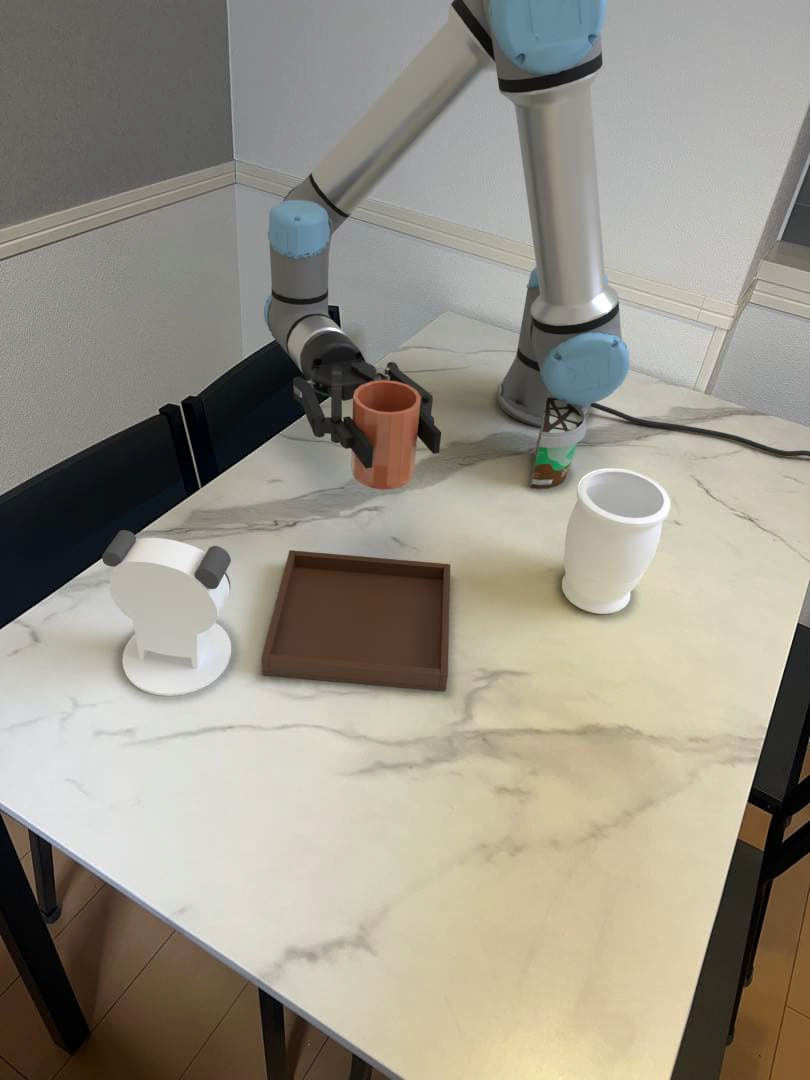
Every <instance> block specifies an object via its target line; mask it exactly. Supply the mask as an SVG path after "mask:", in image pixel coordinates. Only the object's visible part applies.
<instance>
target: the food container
mask: <svg viewBox="0 0 810 1080" xmlns="http://www.w3.org/2000/svg"><path fill="white" fill-rule="evenodd" d="M586 434H587V418H585V414H584V412H583V410H582V409H581V407H580V406H579V405H572V404H567V403H564V402H563V401H560V400H559V399H556V398H555V397H554V396H553V395H552V394H551V393H550V392H547V397H546V402H545V407H544V412H543V417H542V422H541V427H540V428H539V434H538V438H537V442H536V448H535V453H534V459H533V466H532V473H531V474H532V475H531V481H530V489H536V490H542V489H543V490H544V489H546V490H547V489H551V488H555V487H558V486H560V485H561V484H563V483H564V482H565V481H566V479H567V476H568V474H569V470H570V468H571V464H572V461H573V459H574V455H575V452H576V449H577V446H578V443H579V442H580V441H582V440H583V438H584V437H585V436H586Z"/></svg>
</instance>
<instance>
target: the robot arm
mask: <svg viewBox="0 0 810 1080" xmlns="http://www.w3.org/2000/svg"><path fill="white" fill-rule="evenodd" d="M607 8H608V0H453V1H452V2H451V3H450V4H449V6H448V12H447V13H448V14H447V15H448V16H447V20H446V22H445V24H444V25H442V26H441V28H440V29H439V30H438V31H437V32H436V33H435V34H434V35H433V37H432V38H431V39H430V40H429V41H428V42H427V43H426V45H424V46H423V48H422V49H421V50H419V52H418V53H417V54H416V55H415V57H413V59H412V60H411V61H410V62H409V63H408V64H407V65H406V67H404V69H403V70H402V71H401V72H400V73H399V74H398V76H396V78H395V79H394V80H393V81H392V82H391V83H390V84H389V85H388V86H387V88H386V89H385V90H383V92H382V93H381V94H380V96H378V98H377V99H376V100H375V101H374V102H373V103H372V104H371V105H370V106H369V108H367V109H366V111H365V112H364V113H363V114H362V115H361V116H360V117H359V118H358V119H357V121H356V122H355V123H354V124H353V125H352V126H351V127H350V128H349V130H348V131H347V132H346V133H345V134H344V135H343V137H342V138H341V139H339V141H338V142H337V143H336V144H335V145H334V147H332V148H331V150H330V151H329V152H328V153H327V154H326V155H325V156H324V158H323V159H321V161H320V162H319V163H317V165H316V167H314V169H312V171H311V172H310V174H309V175H307V176H306V177H305V179H304V180H303V181H302V182H301V183H297V184H296V185H295V186H293V187H292V188H290V190H288V192H287V193H286V195H285V196H284V198H283V200H282V201H280V202H279V203H276V204H274V205H273V206H272V207H271V209H270V211H269V213H268V231H267V239H268V241H269V243H268V244H269V258H270V259H269V261H270V262H269V263H270V278H271V279H270V280H271V292H270V294H269V295H268V297H267V300H266V301H265V304H264V306H263V319H264V322H265V324H266V326H267V328H268V331H269V332H270V333H271V336H272V337H273V338H274V339H273V340H275V341H276V342H277V343H278V344H279V345H280V347H281V348H282V349H283V351H284V352H285V353H286V354H287V355H288V357H289V358H290V359H291V360H292V361H293V362H294V364H295V365H296V367H297V368H298V369H299V370H300V372H301V373H302V374H303V376H304V378H305V379H304V378H303V377H301V376H296V377H294V378H293V380H292V381H293V383H292V385H293V398H294V400H295V401H297V402H298V403H299V404H300V405H301V407H302V409H303V412H304V414H305V416H306V419H307V421H308V423H309V426H310V428H311V431H312V434H313V435H314V437H316V438H323V437H325V435H326V434H327V435H328V434H329V435H330V441H331V442H332V443H333V444H340V446H341V447H342V448H344V450H347V449H348V450H349V449H351V451H353V452H354V453H355V455H356V456H357V457H358V459H359V460H360V461H361V463H362V464H363V465H364V467H365V468H366V469H367V468H372V463H373V445H372V444H371V443H370V442H369V440H368V439H367V438H366V436H365V435H364V434H363V433H362V431H361V430H360V429H359V428H358V426H357V425H356V424H355V422H354V421H353V420H352V417H351V416H350V415H348V416H344V417H343V402H346V401H350V400H353V395H354V391H355V390H356V389H357V388H358V387H359V386H360V385H362V384H365V383H368V382H372V381H380V380H388V381H396V382H400V383H404V384H407V385H409V386H411V387H412V388H414V389H415V390H417V392H418V393H419V395H420V396H421V402H420V413H419V424H418V435H417V438H419V439H420V440H421V442H422V443H423V444H424V445H425V446H426V447H427V448H428V450H429V451H430V452H431V453H432V454H433V455H435V454H436V455H437V454H440V449H441V441H442V431H441V430H440V429H439V428H438V426H437V425H436V424H435V417H433V415H432V411H433V402H434V401H433V400H434V396H433V394H431V393H430V392H429V391H427V390H426V389H425V388H424V387H422V386H421V385H420V384H419V383H417V382H416V381H414V379H412V378H410V377H409V376H408V375H407V374H405V373H404V372H403V371H402V370H400V368H399V366H398V364H397V363H396V362H395V361H389V362H387V363H386V367H385V368H383V367H382V368H376V366H374V365H373V364H371V363H369V362H367V361H366V359H365V356H364V354H363V353H362V350H360V349H359V347H358V346H357V345H356V344H355V343H354V342H353V341H352V340H351V338H350V337H349V336H348V335H347V333H346V332H344V330H342V328H340V326H339V325H338V324H337V323H336V322H335V321H334V320H333V319H332V318H331V316H330V315H329V264H330V263H329V262H330V261H329V260H330V250H331V243H332V242H331V241H332V236H333V234H335V232H336V231H337V230H338V229H339V228H340V227H341V226H342V225H343V224H344V222H345V221H346V220H347V219H348V218H349V217H350V216H351V215H352V213H354V211H355V210H356V209H357V208H359V206H361V204H362V203H363V202H364V201H365V200H366V199H367V198H368V197H369V196H370V195H371V194H372V193H373V192H374V191H375V189H377V187H379V186H380V185H381V184H382V182H384V180H385V179H386V178H387V177H388V176H389V175H390V174H391V173H392V172H393V171H394V170H395V169H397V167H398V166H399V165H400V164H401V163H402V162H403V161H404V160H405V158H407V156H409V155H410V153H411V152H413V151H414V149H415V148H416V147H417V146H418V145H419V144H420V143H421V142H422V141H423V140H424V139H425V138H426V137H427V136H428V135H429V134H430V133H431V132H432V130H434V129H435V127H437V126H438V124H439V123H440V122H441V121H442V120H443V119H444V118H446V116H447V115H448V114H449V113H450V112H451V111H452V110H453V109H454V108H455V107H456V106H457V105H458V104H459V103H460V102H461V101H462V100H463V98H464V97H465V96H466V95H468V93H470V91H471V90H472V89H473V88H475V86H477V84H478V83H479V82H480V81H481V80H482V79H483V78H484V77H485V76H486V75H487V74H488V73H496V76H497V77H496V78H497V83H498V84H497V85H498V92H499V93H500V94H501V95H503V97H505V98H506V99H508V100H509V101H510V102H512V103H513V105H514V109H515V116H516V125H517V132H518V138H519V147H520V154H521V161H522V170H523V176H524V183H525V191H526V199H527V206H528V215H529V221H530V230H531V235H532V244H533V252H534V258H535V267H534V268H533V269H532V270H531V272H530V276H529V279H528V283H527V284H526V288H527V289H526V295H525V300H524V308H523V315H522V319H521V325H520V331H519V337H518V343H517V349H516V350H517V351H516V355H515V357H514V359H513V362H512V363H511V365H510V367H509V368H508V371H507V373H506V374H505V377H504V378H503V380H502V382H500V383H499V386H498V396H497V401H498V404H499V406H500V408H501V409H502V410H503V412H505V414H507V415H508V416H510V417H511V418H513V419H515V420H517V421H519V422H521V423H524V424H527V425H530V426H534V427H538V428H539V427H541V422H542V417H543V412H544V407H545V402H546V397H547V392H550V393H551V394H552V395H553V396H554V397H555V398H556V399H559V400H560V401H563V402H564V403H567V404H572V405H579V406H580V407H581V409H582V410H583V412H584V414H585V418H586V419H587V418H588V417H589V415H590V411H591V408H594V409H596V410H599V411H601V412H605V413H608V414H611V415H613V416H616V417H618V418H620V419H623V420H626V421H628V422H631V423H634V424H639V425H643V426H646V427H647V426H648V427H654V428H662V429H671V430H678V431H684V432H689V433H695V434H702V435H707V436H712V437H717V438H722V439H726V440H731V441H735V442H738V443H740V444H744V445H746V446H749V447H752V448H755V449H758V450H761V451H764V452H766V453H770V454H774V455H778V456H783V457H801V456H803V457H809V458H810V451H809V450H806V449H805V450H782V449H778V448H776V447H775V448H774V447H771V446H767V445H764V444H762V443H759V442H756V441H754V440H751V439H747V438H744V437H741V436H740V435H739V436H738V435H735V434H731V433H727V432H723V431H718V430H713V429H706V428H701V427H695V426H688V425H683V424H677V423H669V422H660V421H653V420H647V419H642V418H639V417H635V416H633V415H628V414H626V413H624V412H621V411H619V410H617V409H615V408H614V409H613V408H612V407H609V406H605V405H602V404H599V403H598V402H600V401H603V400H605V399H606V398H608V397H610V396H611V395H612V394H613V393H615V391H616V390H617V389H618V388H619V387H621V385H623V383H624V381H625V380H626V378H627V376H628V374H629V371H630V370H629V369H630V352H629V349H628V346H627V343H626V342H625V341H624V340H623V337H622V327H621V315H620V314H621V313H620V302H619V293H618V291H617V290H616V289H615V288H614V287H612V286H611V285H609V277H608V275H607V274H606V273H605V260H604V246H603V234H602V232H603V231H602V221H601V209H600V195H599V182H598V171H597V170H598V168H597V157H596V144H595V132H594V118H593V117H594V115H593V105H592V92H591V88H592V85H593V83H594V82H595V80H596V79H597V77H598V76H599V75H600V73H601V71H602V70H603V68H604V67H603V66H604V65H603V64H604V62H603V48H602V34H601V32H602V29H603V27H604V23H605V19H606V14H607ZM316 393H318V394H319V395H320V394H321V395H322V396H326V397H329V398H331V399H330V402H331V403H330V417H329V416H325V414H324V411H323V409H322V406H321V403H320V402H319V400H318V397H317V395H316Z"/></svg>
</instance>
